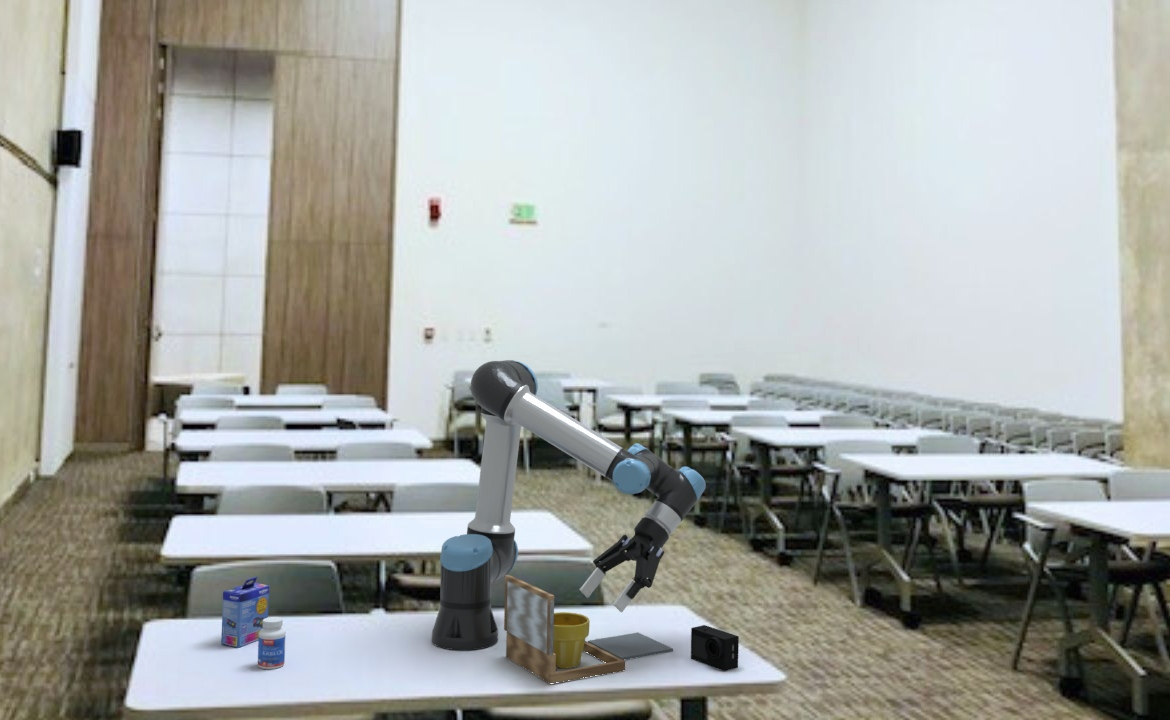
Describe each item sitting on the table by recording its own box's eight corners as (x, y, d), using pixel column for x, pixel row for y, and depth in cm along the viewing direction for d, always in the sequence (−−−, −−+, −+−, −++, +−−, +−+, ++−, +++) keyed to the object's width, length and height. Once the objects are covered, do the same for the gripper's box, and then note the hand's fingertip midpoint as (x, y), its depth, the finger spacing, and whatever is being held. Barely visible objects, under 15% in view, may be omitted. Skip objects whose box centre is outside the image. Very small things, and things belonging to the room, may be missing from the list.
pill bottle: (259, 671, 202) (260, 624, 202) (255, 663, 206) (256, 617, 206) (287, 667, 204) (287, 621, 204) (282, 660, 209) (283, 614, 209)
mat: (587, 643, 225) (587, 640, 225) (637, 634, 232) (637, 632, 232) (621, 660, 213) (621, 657, 213) (673, 651, 220) (673, 648, 220)
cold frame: (503, 657, 214) (505, 575, 213) (576, 645, 223) (578, 566, 223) (548, 685, 197) (550, 596, 196) (625, 670, 206) (626, 585, 206)
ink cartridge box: (239, 648, 216) (240, 583, 216) (219, 645, 218) (220, 580, 218) (269, 636, 225) (270, 574, 225) (250, 633, 227) (251, 571, 227)
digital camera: (686, 659, 215) (686, 628, 214) (703, 655, 218) (704, 624, 218) (720, 672, 206) (720, 639, 206) (738, 668, 210) (738, 635, 210)
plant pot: (588, 672, 205) (589, 626, 205) (538, 671, 205) (539, 624, 205) (589, 656, 215) (589, 612, 215) (542, 655, 215) (543, 611, 215)
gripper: (700, 547, 212) (642, 625, 204) (634, 528, 233) (580, 598, 226) (681, 524, 209) (622, 603, 202) (616, 507, 230) (560, 578, 223)
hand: (599, 601), depth 214 cm, fingers open, 13 cm apart
